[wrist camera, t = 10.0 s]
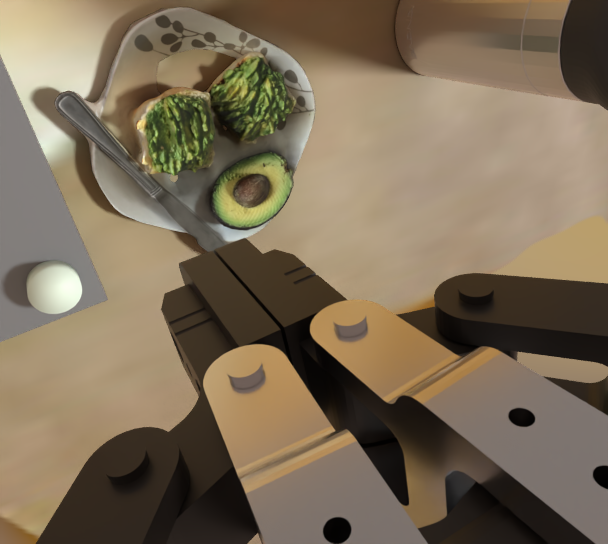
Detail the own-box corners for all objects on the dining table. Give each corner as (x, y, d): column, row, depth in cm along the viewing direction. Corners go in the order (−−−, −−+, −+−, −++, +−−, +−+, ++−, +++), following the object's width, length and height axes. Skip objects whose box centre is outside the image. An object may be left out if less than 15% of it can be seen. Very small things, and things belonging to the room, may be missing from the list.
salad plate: (21, 203, 39) (24, 223, 35) (96, -49, 35) (107, -56, 31) (249, 261, 50) (269, 282, 46) (326, 74, 46) (354, 80, 42)
